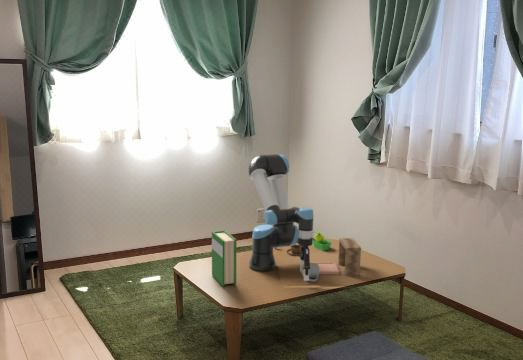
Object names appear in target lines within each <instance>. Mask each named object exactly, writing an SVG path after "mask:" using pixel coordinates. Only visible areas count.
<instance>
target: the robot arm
mask: <svg viewBox="0 0 523 360" xmlns="http://www.w3.org/2000/svg"><path fill="white" fill-rule="evenodd" d="M289 171H290V162H289V160H288V158H287V157H286V156H285V154H278V153H276V154H259V155H256V156H255V157H253V158H252V160H251V161H250V162H249V165H248V175H249V177H250V180H251V181H253V183H254V186H255V189H256V190H257V193H258V195H259V197H260V200H261V203H262V204H263V207H264V210H265V211H264V213H263V219H264V222H265V224H261V225H257V226H255V227H254V228H253V229H252V235H251V238H252V253H251V257H250V260H249V263H248V264H249V265H248V267H249V269H251V270H254V271H260V272H267V271H268V272H269V271H273V270H274V269H276V266H277V264H276V263H277V262H276V259H275V255H274V249H275V248H276V249H277V248H284V247H291V246H293V245H300V246H301V251H300V253H299V254H300V256H299V258H300V259H299V260H300V261H299V263H300V264H299V267H300V268H299V272H300V273H301V267H302V265H303V264H304V268H303V269H304V277H303V281H304V282H308V281H309V269H310V263H311V259H310V257H311V256H310V248H309V247H310V246H311V247H312V246H313V239H314V238H313V233H314V209H312V207H298V206H291V207H290V208H289V201H288V195H287V187H286V182H285V181H286V180H285V179H286V177H287V174H289ZM269 182H270V183H269ZM294 223H296V224H298V226H297V225H295V224H294ZM306 266H308V267H306ZM309 282H310V281H309Z"/></svg>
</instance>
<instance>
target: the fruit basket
mask: <svg viewBox="0 0 523 360" xmlns="http://www.w3.org/2000/svg"><path fill="white" fill-rule="evenodd" d="M312 245H313V247H314V248H316V249H318V250H320V251H322V252H324V251H328V250H330V247H331V245H332V242H331V241H329V240H326V239H325V237H324V235H323V234H322V233H321V232H316V233H315V235H314V238H313V241H312Z"/></svg>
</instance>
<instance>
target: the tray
mask: <svg viewBox="0 0 523 360" xmlns="http://www.w3.org/2000/svg"><path fill="white" fill-rule="evenodd" d="M316 263H317V264H318V266H319V275H340V273H341V270H339V267H338V266H337V265H336V262H316Z"/></svg>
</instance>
